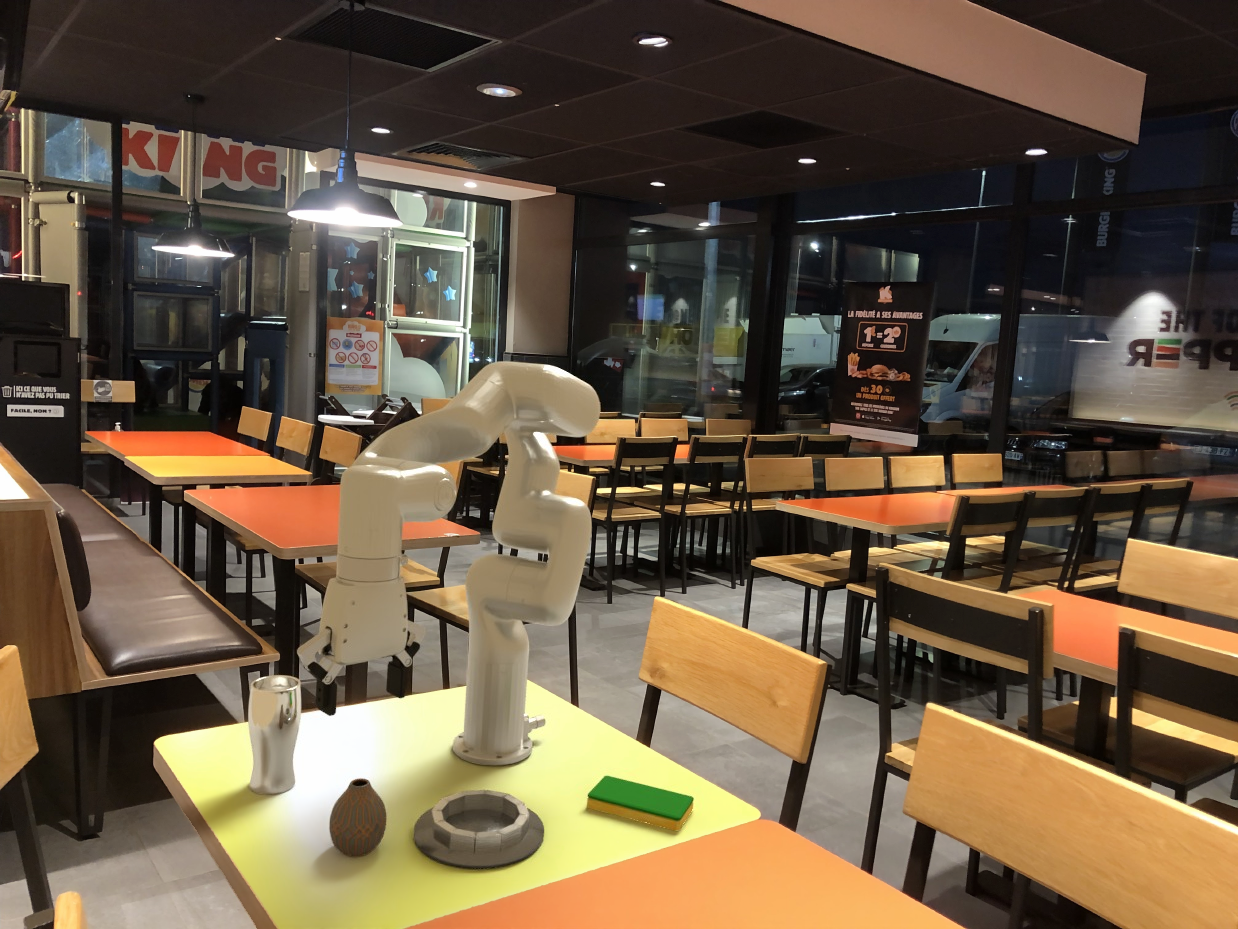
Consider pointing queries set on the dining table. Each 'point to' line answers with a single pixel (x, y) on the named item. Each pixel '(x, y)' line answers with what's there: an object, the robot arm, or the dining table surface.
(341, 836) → the vase
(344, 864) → the dining table surface
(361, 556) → the robot arm
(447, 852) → the ring seat
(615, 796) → the dish sponge
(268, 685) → the beer glass
